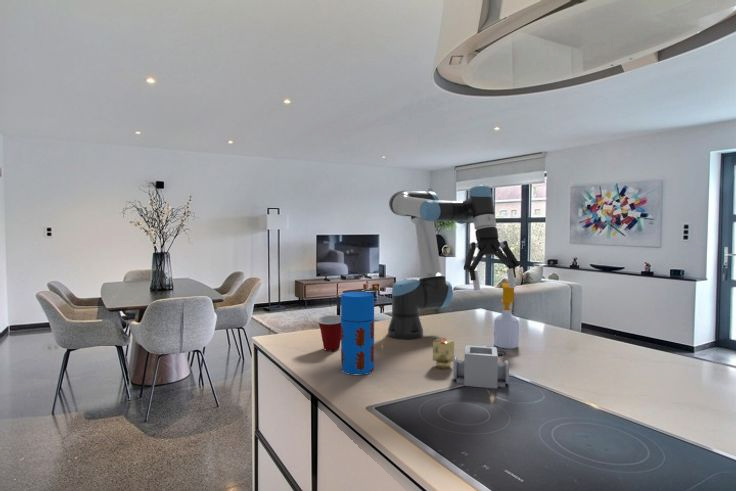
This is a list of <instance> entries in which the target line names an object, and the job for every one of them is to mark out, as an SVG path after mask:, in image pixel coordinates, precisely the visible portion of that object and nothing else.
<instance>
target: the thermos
mask: <svg viewBox="0 0 736 491" xmlns="http://www.w3.org/2000/svg"><path fill="white" fill-rule="evenodd" d="M340 316H341V341H340V351H341V352H340V357H341V359H340V360H341V371H342V370H343V371H344V372H346V373H349V374H366V373H369V374H371V373H373V372H372V371H374V370H375V368H374V367H375V296H374V293H373V292H367V291H348V292H347V291H345V292H342V293H341V296H340ZM344 372H343V373H344ZM370 372H371V373H370ZM346 373H345V374H346ZM349 374H348V375H349ZM366 375H367V374H366Z"/></svg>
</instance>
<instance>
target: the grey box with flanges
mask: <svg viewBox="0 0 736 491" xmlns="http://www.w3.org/2000/svg"><path fill="white" fill-rule="evenodd" d="M497 348H498V347H497V346H484V345H483V346H481V345H469V344H468V345H466V344H465V348H464V360H463V359H462V360H459V359H458V356H454V361H453V362H452V363H453V364H452V365H453V367H452V370H453V371H452V377H453V380H456V384H462V385H464V386H465V387H477V388H478V387H479V388H486V389H487V388H488V389H498V388H506V385H509V383H510V363H509V362H510V361H509V360H506V359H505V360H504V362H503V363H500V362H498V360H499V355H498V349H497Z"/></svg>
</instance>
